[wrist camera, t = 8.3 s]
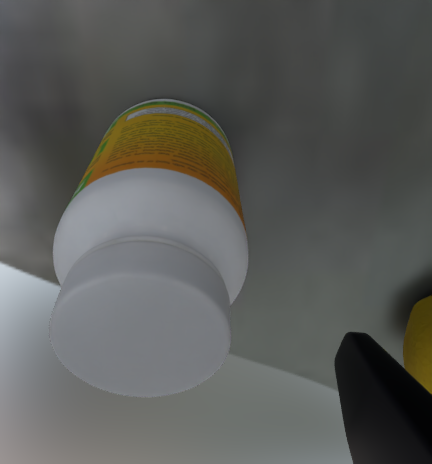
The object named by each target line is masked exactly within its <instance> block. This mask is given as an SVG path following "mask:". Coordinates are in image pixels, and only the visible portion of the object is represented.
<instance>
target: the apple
mask: <svg viewBox="0 0 432 464" xmlns="http://www.w3.org/2000/svg"><path fill="white" fill-rule="evenodd" d="M403 359H404V366H405V370H406V371H407V372H408V373H410V374H411V375H412V376H413V377H414V378H415V379H416V380H417V381H418V382H419V383H420V384H421V385H422V386H423V387H424V388H425V389H427V390H428V391H429V392H430V393H431V394H432V295H431V296H428V297H426V298H424V299H422V300H420V301H418V302H417V303H416V304H415V305H414V306H413V309H412V311H411V314H410V318H409V321H408V325H407V328H406V332H405V337H404V345H403Z"/></svg>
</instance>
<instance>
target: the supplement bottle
mask: <svg viewBox="0 0 432 464" xmlns="http://www.w3.org/2000/svg"><path fill="white" fill-rule="evenodd" d="M53 262H54V268H55V272H56V275H57V278H58V280H59V283H60V285H61V287H62V288H61V290H60V293H59V295H58V298H57V301H56V303H55V306H54V309H53V312H52V315H51V318H50V324H49V338H50V342H51V345H52V348H53V350H54V352H55V354H56V356H57V357H58V359H59V360H60V361H61V363H62V364H63V365H64V366H65V367H66V368H67V369H68V370H69V371H70V372H71V373H73V374H74V375H75V376H77V377H78V378H80V379H81V380H83V381H84V382H86V383H88V384H90V385H92V386H94V387H96V388H99V389H101V390H105V391H107V392H111V393H115V394H120V395H126V396H133V397H159V396H165V395H171V394H176V393H179V392H182V391H186V390H189V389H191V388H193V387H195V386H198V385H199V384H201V383H202V382H204V381H206V380H207V379H209V378H210V377H211V376H212V375H213V374H215V372H216V371H217V370H218V369H219V368H220V367H221V366H222V364H223V363H224V361H225V359H226V357H227V355H228V352H229V349H230V345H231V321H230V305H231V304H232V303H233V302H234V300H235V299H236V297H237V296H238V294H239V292H240V290H241V288H242V286H243V283H244V281H245V278H246V274H247V269H248V243H247V235H246V229H245V223H244V218H243V213H242V207H241V202H240V196H239V189H238V183H237V177H236V172H235V166H234V160H233V155H232V151H231V147H230V144H229V142H228V139H227V137H226V135H225V133H224V132H223V130H222V129H221V127H220V126H219V125H218V123H217V122H216V121H215V120H214V119H213V118H212V117H211V116H210V115H208V114H207V113H206V112H204V111H203V110H201V109H200V108H198V107H196V106H194V105H191V104H189V103H186V102H183V101H179V100H173V99H155V100H149V101H145V102H142V103H139V104H136V105H134V106H132V107H130V108H129V109H127V110H126V111H124V112H123V113H122V114H120V115H119V116H118V117H117V118H116V119H115V120H114V121H113V123H112V124H111V126H110V127H109V128H108V130H107V131H106V133H105V135H104V137H103V139H102V141H101V143H100V145H99V147H98V149H97V151H96V153H95V155H94V157H93V159H92V160H91V162H90V164H89V166H88V168H87V170H86V172H85V174H84V176H83V178H82V180H81V182H80V184H79V186H78V187H77V189H76V191H75V193H74V195H73V197H72V198H71V200H70V202H69V204H68V206H67V208H66V209H65V212H64V214H63V216H62V218H61V220H60V222H59V225H58V227H57V230H56V233H55V238H54V245H53Z"/></svg>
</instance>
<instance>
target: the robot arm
mask: <svg viewBox="0 0 432 464" xmlns="http://www.w3.org/2000/svg"><path fill="white" fill-rule="evenodd" d="M335 372H336V378H337V385H338V391H339V396H340V403H341V409H342V414H343V421H344V426H345V432H346V437H347V441H348V444H349V449H350V453H351V456H352V460H353V464H432V394H431V393H430V392H429V391H428V390H427V389H425V388H424V387H423V386H422V385H421V384H420V383H419V382H418V381H417V380H416V379H415V378H414V377H413V376H412V375H411V374H410V373H408V372H407V371H406V370H405V369H404V368H403V367H402V366H401V365H400V364H399V363H398V362H397V361H396V360H395V359H394V358H393V357H392V356H390V355H389V354H388V353H387V352H386V351H385V350H384V349H383V348H382V347H381V346H380V345H379V344H378V343H377V342H376V341H375V340H374V339H372V338H371V337H370V336H369V335H368V334H366V333H359V332H348V333H347V334H345V336H344V338H343V340H342V343H341V345H340V347H339V349H338V352H337V354H336V357H335Z"/></svg>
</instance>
